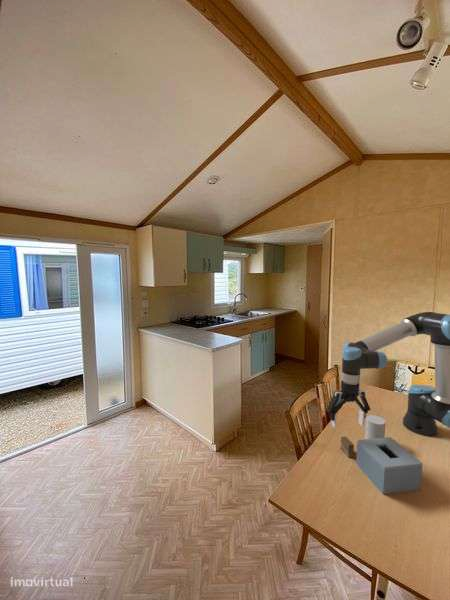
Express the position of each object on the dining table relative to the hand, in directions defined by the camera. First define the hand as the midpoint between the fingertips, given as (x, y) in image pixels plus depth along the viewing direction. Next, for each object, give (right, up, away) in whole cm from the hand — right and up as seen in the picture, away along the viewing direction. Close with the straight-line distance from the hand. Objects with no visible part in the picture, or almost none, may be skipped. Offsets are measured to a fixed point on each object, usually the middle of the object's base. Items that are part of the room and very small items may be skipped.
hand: (347, 425), depth 118 cm
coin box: (+10, -15, -12) cm, 22 cm away
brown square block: (0, -13, +1) cm, 14 cm away
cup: (+17, -13, +9) cm, 23 cm away
